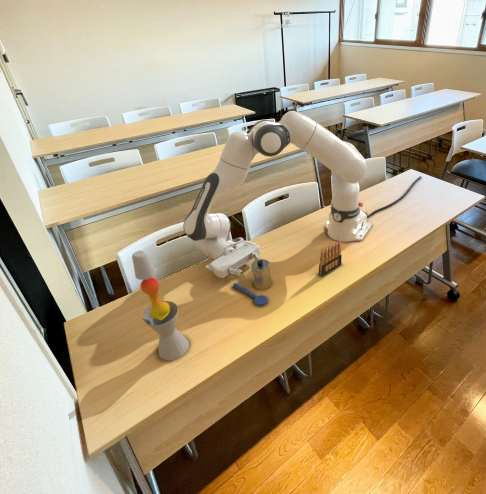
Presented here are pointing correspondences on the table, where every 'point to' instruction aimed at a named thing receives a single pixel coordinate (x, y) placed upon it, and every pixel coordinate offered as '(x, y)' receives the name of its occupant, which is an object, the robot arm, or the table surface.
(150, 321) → the lava lamp
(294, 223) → the table surface
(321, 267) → the ammunition clip
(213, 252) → the robot arm
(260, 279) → the pot
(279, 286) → the table surface
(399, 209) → the table surface
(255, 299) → the spoon
